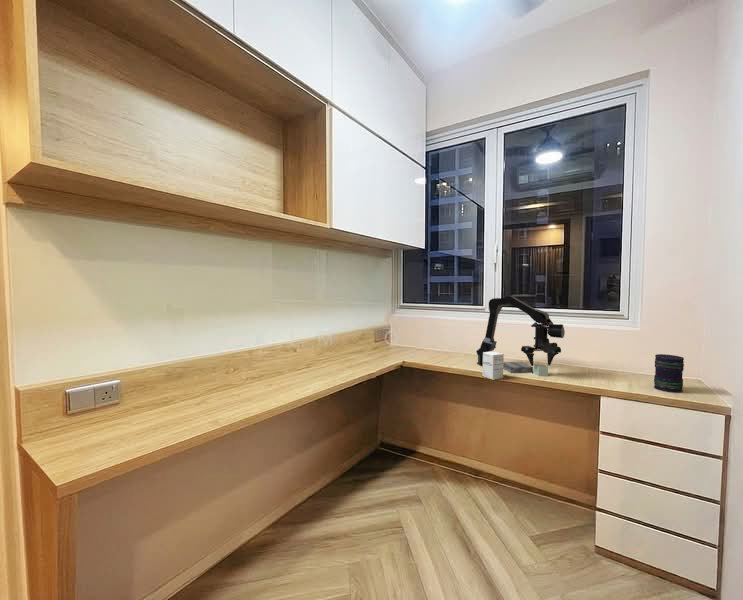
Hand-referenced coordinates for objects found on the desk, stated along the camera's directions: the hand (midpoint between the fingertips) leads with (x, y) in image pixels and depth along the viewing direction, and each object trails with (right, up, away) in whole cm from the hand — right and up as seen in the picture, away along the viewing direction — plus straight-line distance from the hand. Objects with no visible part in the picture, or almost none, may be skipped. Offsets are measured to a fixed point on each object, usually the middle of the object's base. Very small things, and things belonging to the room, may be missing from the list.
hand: (540, 365), depth 177 cm
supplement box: (-27, -5, -5) cm, 28 cm away
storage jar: (+45, -6, -25) cm, 52 cm away
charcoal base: (-9, -4, +10) cm, 14 cm away
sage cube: (0, -5, 0) cm, 5 cm away
